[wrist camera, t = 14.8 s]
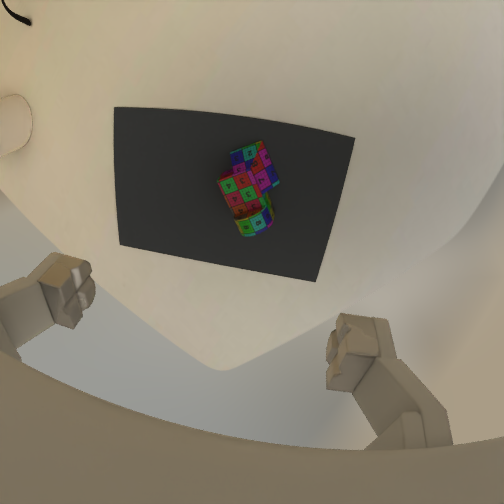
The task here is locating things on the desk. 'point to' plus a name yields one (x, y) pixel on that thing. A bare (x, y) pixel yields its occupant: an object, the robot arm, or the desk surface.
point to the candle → (14, 123)
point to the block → (250, 188)
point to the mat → (211, 197)
